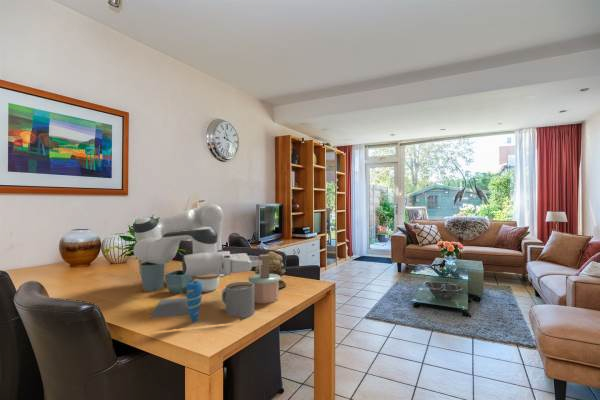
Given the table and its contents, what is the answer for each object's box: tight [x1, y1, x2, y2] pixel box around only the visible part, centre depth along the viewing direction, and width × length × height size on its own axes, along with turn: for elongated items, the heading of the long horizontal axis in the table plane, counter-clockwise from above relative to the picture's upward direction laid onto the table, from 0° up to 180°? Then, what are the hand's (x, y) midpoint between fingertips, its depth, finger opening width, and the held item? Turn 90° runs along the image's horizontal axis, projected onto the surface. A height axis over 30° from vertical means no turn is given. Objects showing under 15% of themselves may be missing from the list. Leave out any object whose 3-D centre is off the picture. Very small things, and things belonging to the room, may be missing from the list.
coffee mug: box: [221, 281, 255, 319], centre depth 110 cm, size 13×10×10 cm
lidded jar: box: [194, 274, 221, 293], centre depth 136 cm, size 11×11×9 cm
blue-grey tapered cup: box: [139, 261, 165, 292], centre depth 142 cm, size 10×10×12 cm
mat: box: [149, 297, 203, 319], centre depth 115 cm, size 20×16×1 cm
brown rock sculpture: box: [254, 251, 287, 291], centre depth 141 cm, size 18×12×17 cm, turn 137°
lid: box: [247, 253, 281, 284], centre depth 124 cm, size 13×13×10 cm
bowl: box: [253, 281, 280, 305], centre depth 124 cm, size 11×11×8 cm
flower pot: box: [164, 269, 194, 294], centre depth 134 cm, size 9×9×9 cm
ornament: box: [185, 278, 203, 323], centre depth 100 cm, size 5×5×15 cm
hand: (260, 260), depth 124 cm, fingers open, 8 cm apart
